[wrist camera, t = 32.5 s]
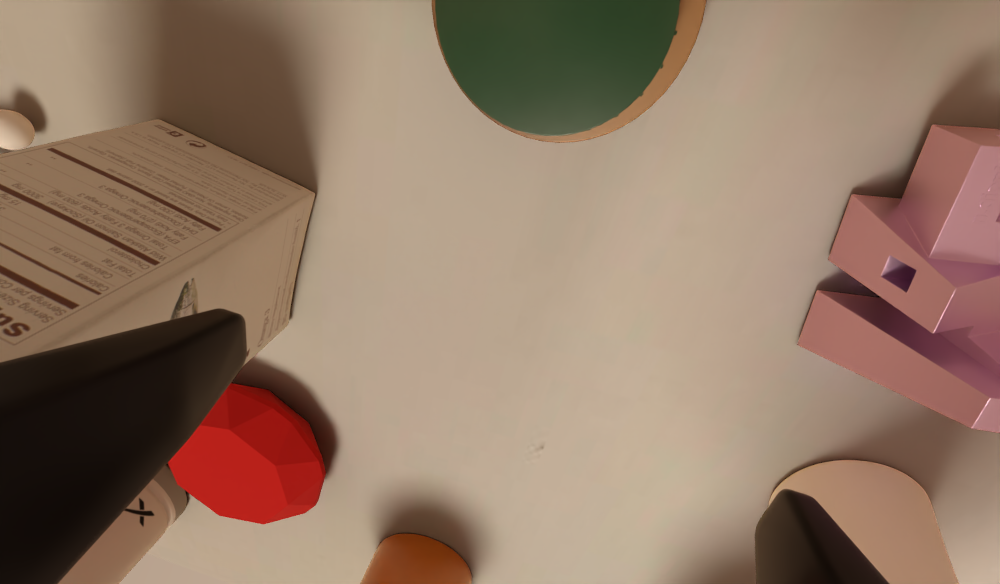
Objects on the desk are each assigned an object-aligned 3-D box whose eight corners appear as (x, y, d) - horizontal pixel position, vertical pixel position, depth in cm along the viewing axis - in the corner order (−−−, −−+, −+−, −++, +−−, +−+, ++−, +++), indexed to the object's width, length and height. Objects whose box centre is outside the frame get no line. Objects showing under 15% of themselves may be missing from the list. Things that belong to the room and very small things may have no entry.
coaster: (765, -96, 14) (771, -101, 13) (623, 175, 18) (622, 182, 18) (489, -219, 14) (482, -230, 13) (410, 79, 18) (401, 82, 18)
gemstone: (184, 451, 32) (143, 491, 29) (190, 340, 27) (142, 375, 24) (321, 514, 32) (292, 559, 29) (350, 413, 27) (319, 456, 24)
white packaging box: (293, 327, 25) (27, 576, 14) (150, 258, 25) (-224, 454, 14) (324, 190, 21) (-8, 387, 10) (156, 109, 21) (-351, 221, 10)
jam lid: (732, -37, 14) (743, -41, 13) (586, 166, 18) (581, 182, 16) (526, -190, 14) (511, -214, 12) (417, 49, 17) (395, 54, 15)
